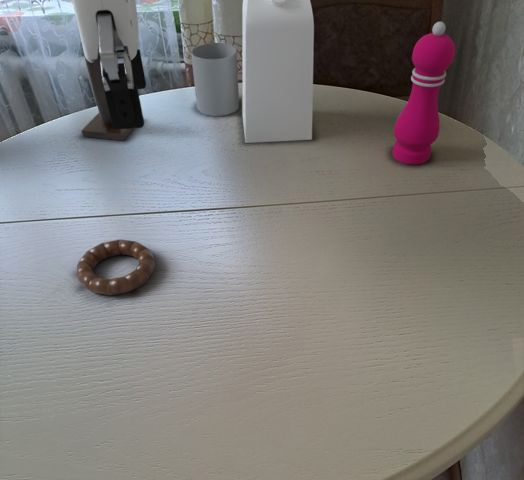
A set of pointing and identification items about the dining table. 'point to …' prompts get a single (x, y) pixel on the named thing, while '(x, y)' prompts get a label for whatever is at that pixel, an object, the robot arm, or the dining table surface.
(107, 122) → the brown post
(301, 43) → the milk
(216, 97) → the cup
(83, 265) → the ring
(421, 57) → the pepper mill
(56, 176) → the dining table surface
